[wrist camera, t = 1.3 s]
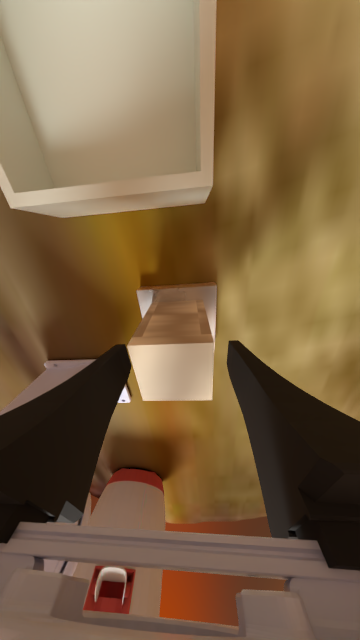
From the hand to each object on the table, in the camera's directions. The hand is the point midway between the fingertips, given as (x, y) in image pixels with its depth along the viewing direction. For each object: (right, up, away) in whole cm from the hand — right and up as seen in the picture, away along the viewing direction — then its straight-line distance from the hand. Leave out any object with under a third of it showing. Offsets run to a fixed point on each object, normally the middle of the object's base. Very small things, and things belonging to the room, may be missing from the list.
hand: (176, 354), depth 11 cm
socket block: (0, +2, +4) cm, 5 cm away
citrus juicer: (-10, -34, +25) cm, 44 cm away
